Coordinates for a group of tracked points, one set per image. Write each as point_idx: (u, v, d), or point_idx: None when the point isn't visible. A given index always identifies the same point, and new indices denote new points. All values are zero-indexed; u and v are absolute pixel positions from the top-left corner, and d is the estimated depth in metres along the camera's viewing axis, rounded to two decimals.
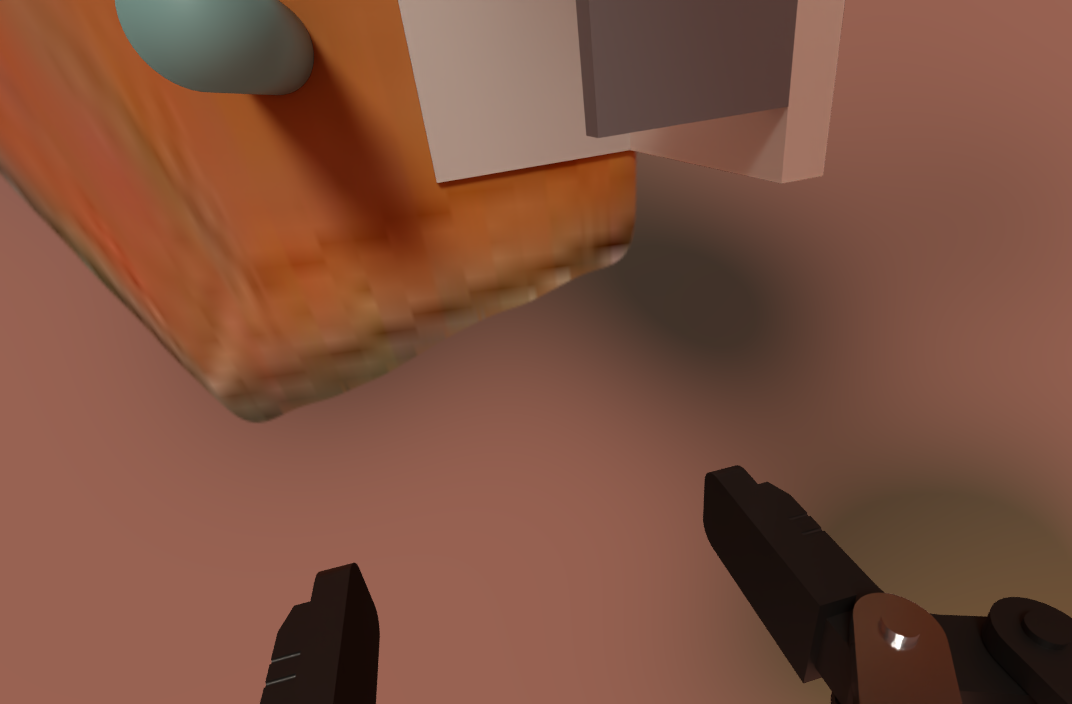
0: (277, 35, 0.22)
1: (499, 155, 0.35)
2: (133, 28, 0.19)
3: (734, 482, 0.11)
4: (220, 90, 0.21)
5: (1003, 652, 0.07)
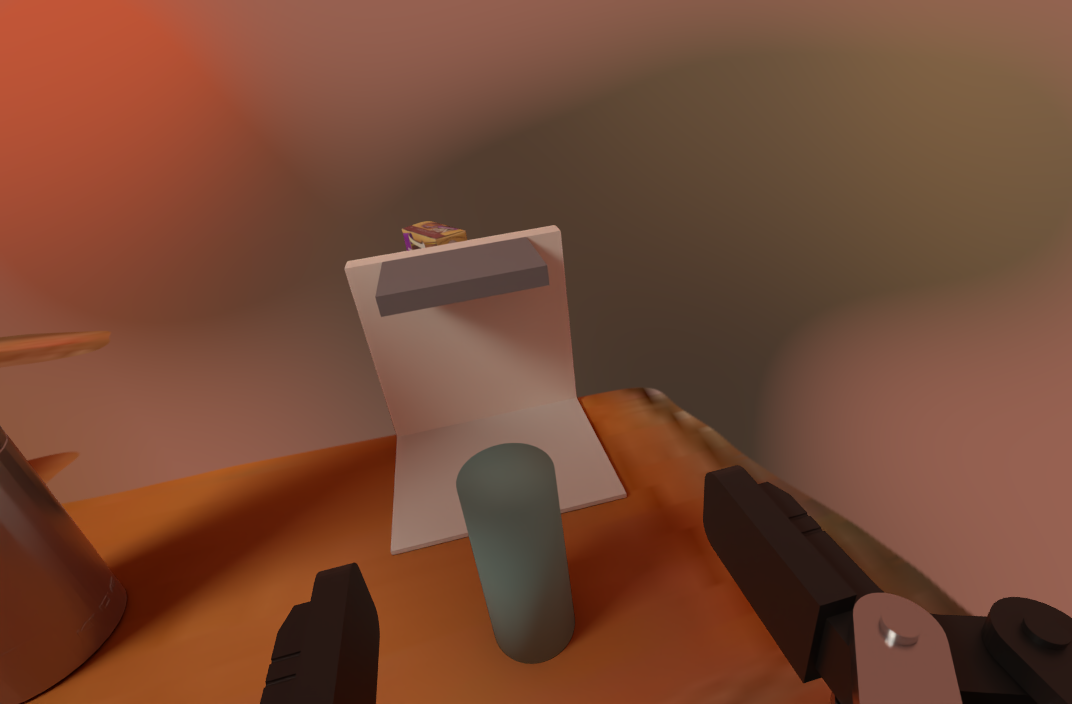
0: None
1: (594, 459, 0.43)
2: (513, 504, 0.24)
3: (734, 482, 0.11)
4: (552, 462, 0.26)
5: (1003, 652, 0.07)
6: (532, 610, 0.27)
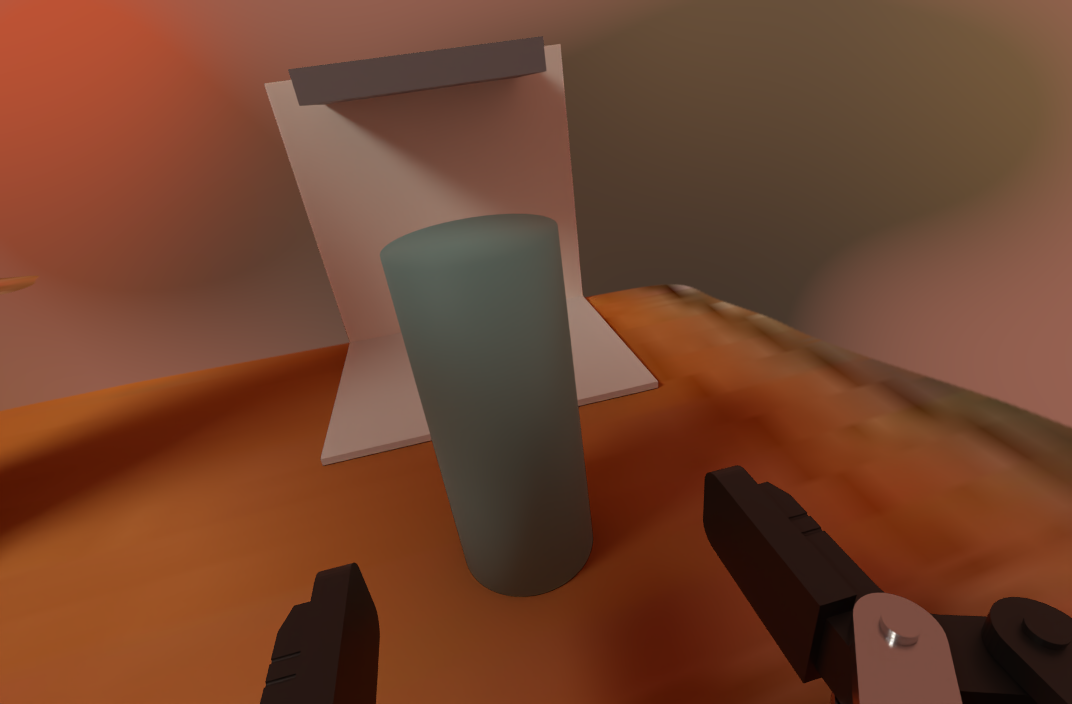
0: None
1: (610, 349, 0.32)
2: (481, 256, 0.12)
3: (734, 482, 0.11)
4: (553, 220, 0.15)
5: (1003, 652, 0.07)
6: (522, 491, 0.16)
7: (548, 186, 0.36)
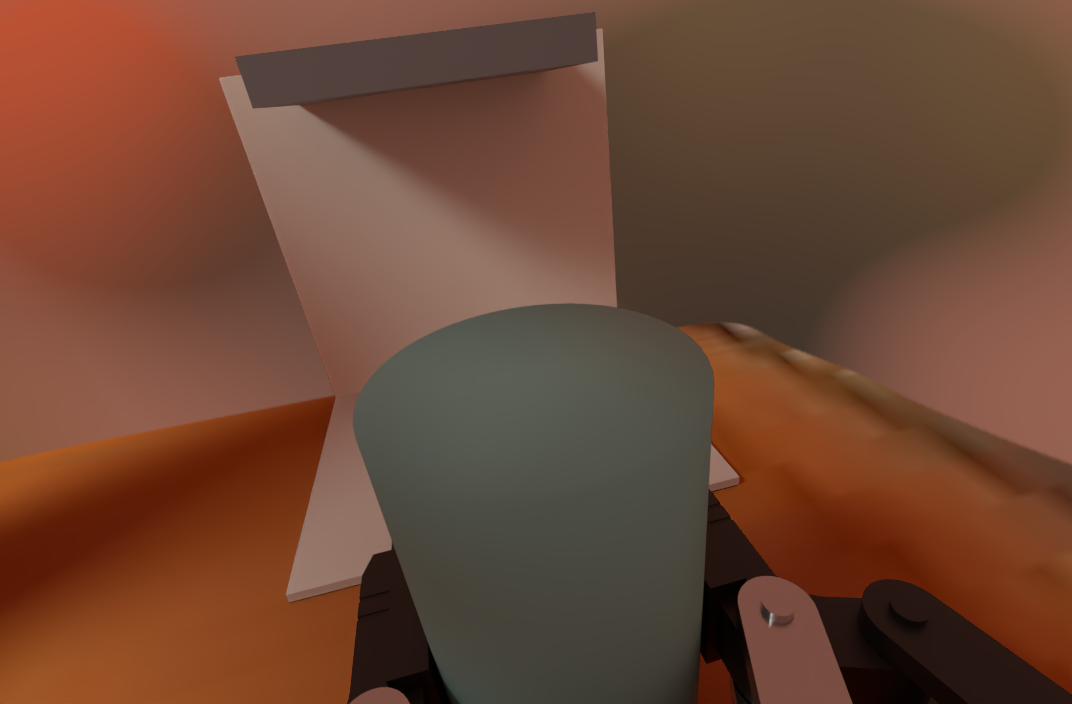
0: None
1: None
2: (579, 465, 0.06)
3: None
4: (687, 337, 0.08)
5: (880, 639, 0.08)
6: None
7: (581, 207, 0.29)
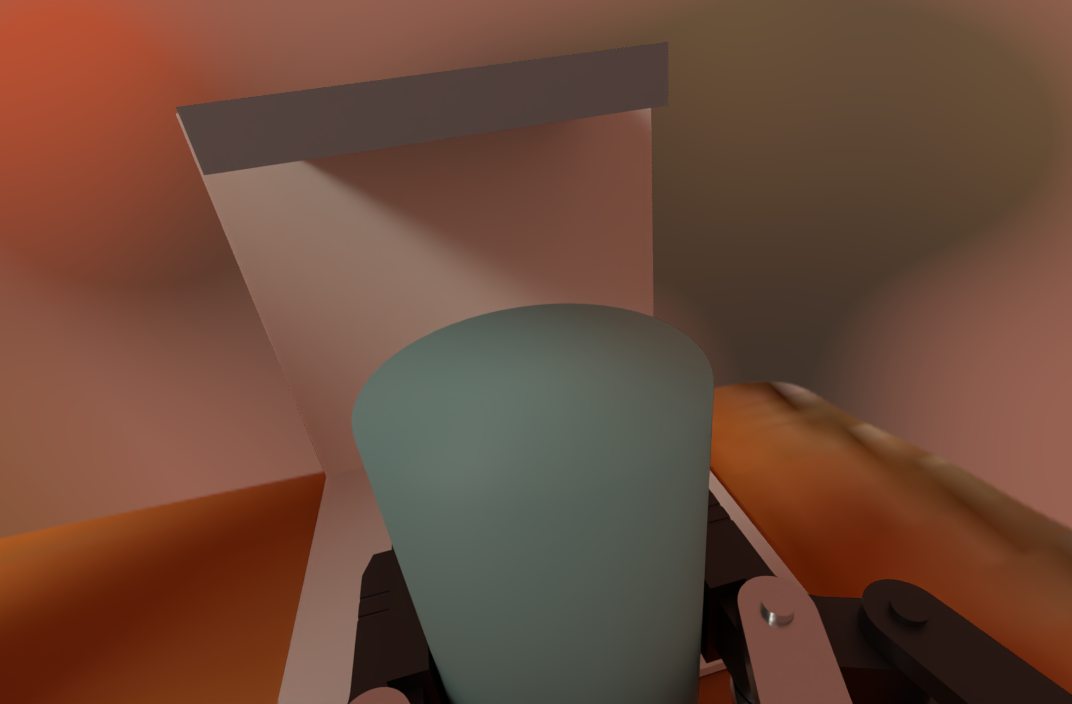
0: None
1: None
2: (578, 466, 0.05)
3: None
4: (686, 336, 0.08)
5: (880, 640, 0.08)
6: None
7: (617, 258, 0.24)
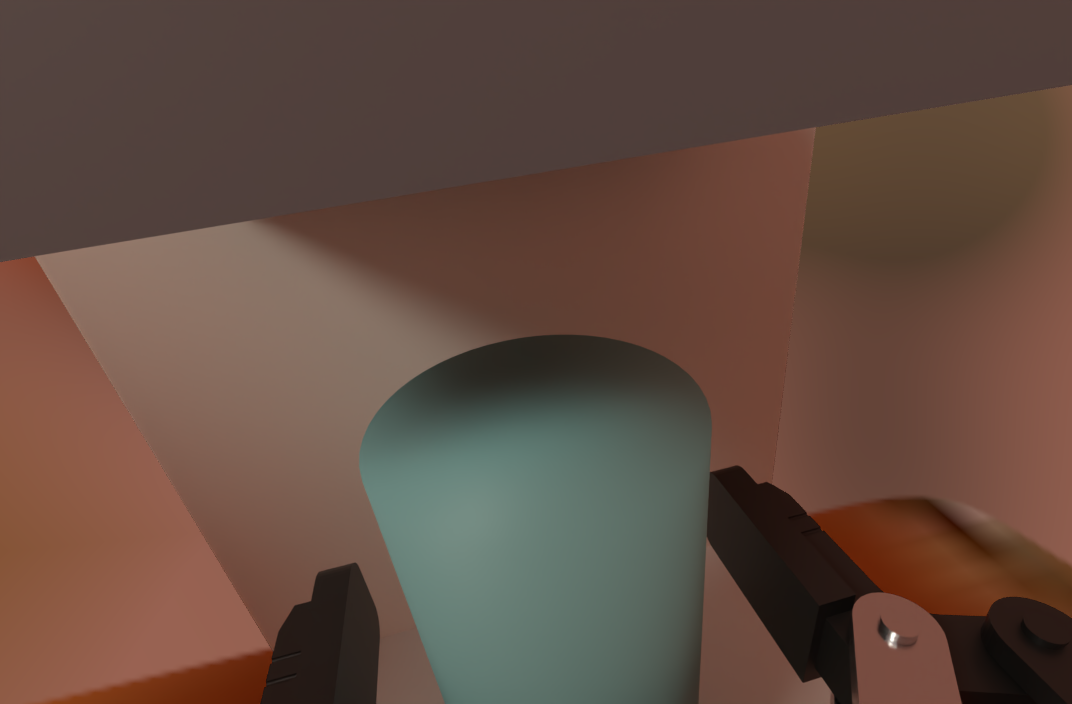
0: None
1: None
2: (579, 514, 0.06)
3: (734, 482, 0.11)
4: (685, 374, 0.08)
5: (1002, 652, 0.07)
6: None
7: (737, 340, 0.15)
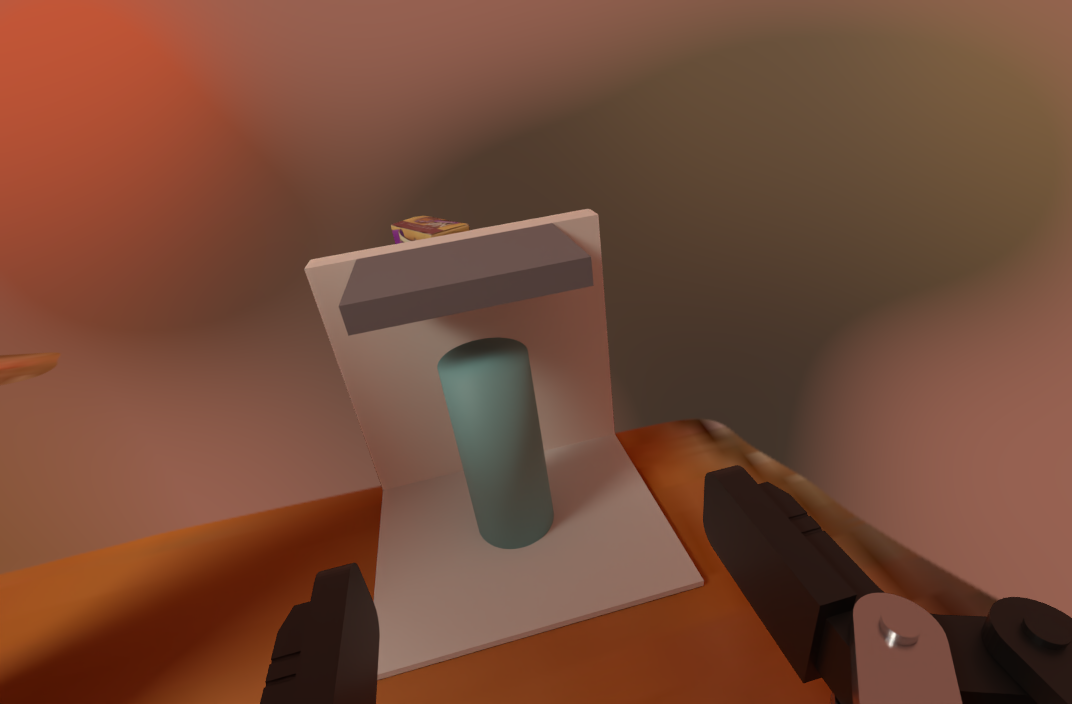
0: None
1: (650, 524, 0.32)
2: (489, 376, 0.26)
3: (734, 482, 0.11)
4: (526, 348, 0.28)
5: (1003, 652, 0.07)
6: (510, 489, 0.29)
7: (583, 340, 0.36)
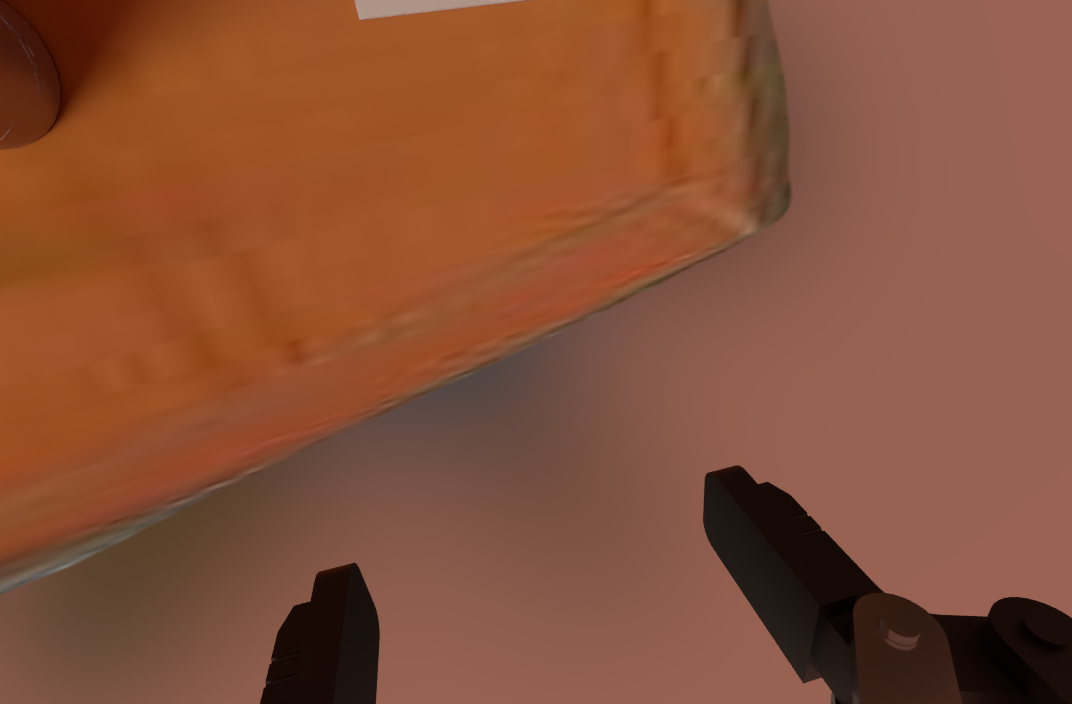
0: None
1: None
2: None
3: (734, 482, 0.11)
4: None
5: (1003, 652, 0.07)
6: None
7: None
